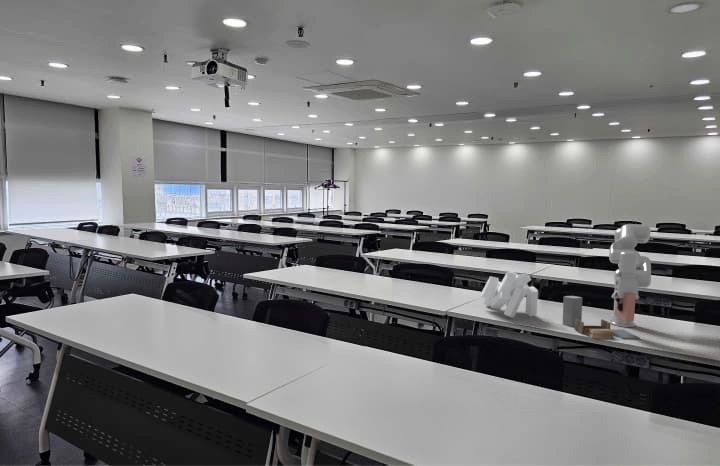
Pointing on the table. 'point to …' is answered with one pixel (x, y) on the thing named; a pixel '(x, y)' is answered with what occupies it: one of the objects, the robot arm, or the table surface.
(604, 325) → the rack
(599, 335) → the offcut stack
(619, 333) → the slate mat
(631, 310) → the pink block
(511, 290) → the pile of blocks
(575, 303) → the skincare box
